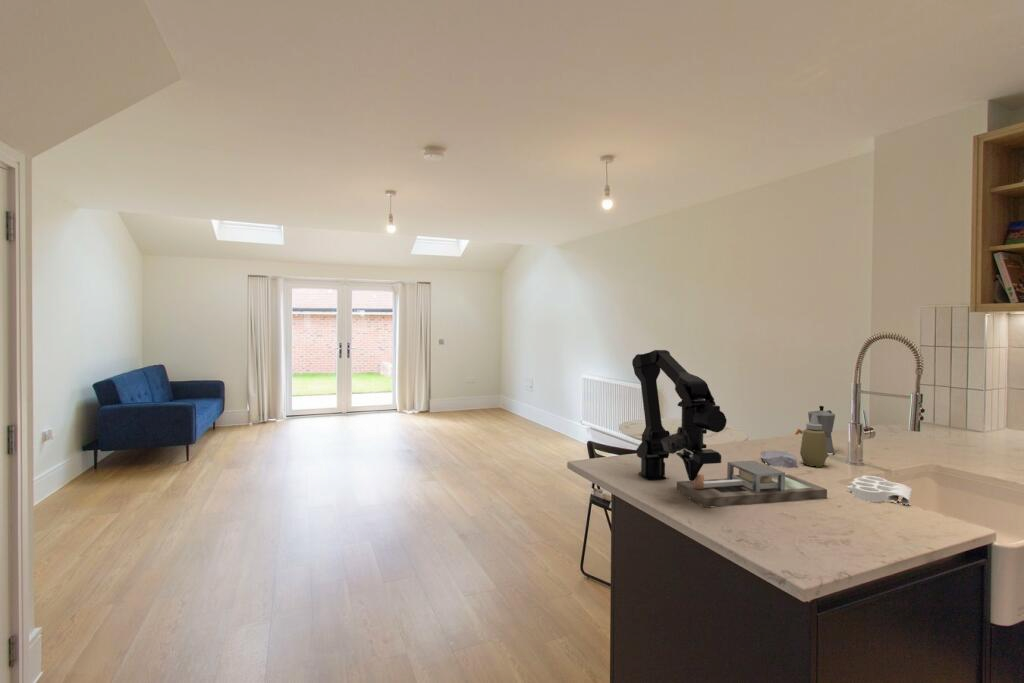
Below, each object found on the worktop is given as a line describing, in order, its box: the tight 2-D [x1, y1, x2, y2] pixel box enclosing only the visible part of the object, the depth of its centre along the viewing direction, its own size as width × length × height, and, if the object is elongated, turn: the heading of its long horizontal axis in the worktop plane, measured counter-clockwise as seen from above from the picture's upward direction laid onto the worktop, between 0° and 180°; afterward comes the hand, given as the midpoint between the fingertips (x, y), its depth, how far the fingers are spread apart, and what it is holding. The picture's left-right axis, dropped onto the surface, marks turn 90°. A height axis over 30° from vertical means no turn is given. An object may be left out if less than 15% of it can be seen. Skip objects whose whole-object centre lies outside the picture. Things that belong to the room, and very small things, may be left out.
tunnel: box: [726, 460, 786, 493], centre depth 138 cm, size 9×12×5 cm
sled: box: [694, 472, 778, 490], centre depth 137 cm, size 23×8×4 cm, turn 101°
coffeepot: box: [807, 405, 836, 454], centre depth 186 cm, size 15×9×18 cm, turn 125°
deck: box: [676, 474, 828, 508], centre depth 138 cm, size 38×14×2 cm, turn 101°
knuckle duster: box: [845, 475, 913, 506], centre depth 138 cm, size 3×18×15 cm
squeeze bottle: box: [799, 414, 828, 468], centre depth 168 cm, size 8×8×18 cm
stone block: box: [760, 449, 798, 468], centre depth 171 cm, size 12×5×10 cm
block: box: [738, 469, 772, 484], centre depth 138 cm, size 6×6×4 cm
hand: (691, 480), depth 134 cm, fingers closed
